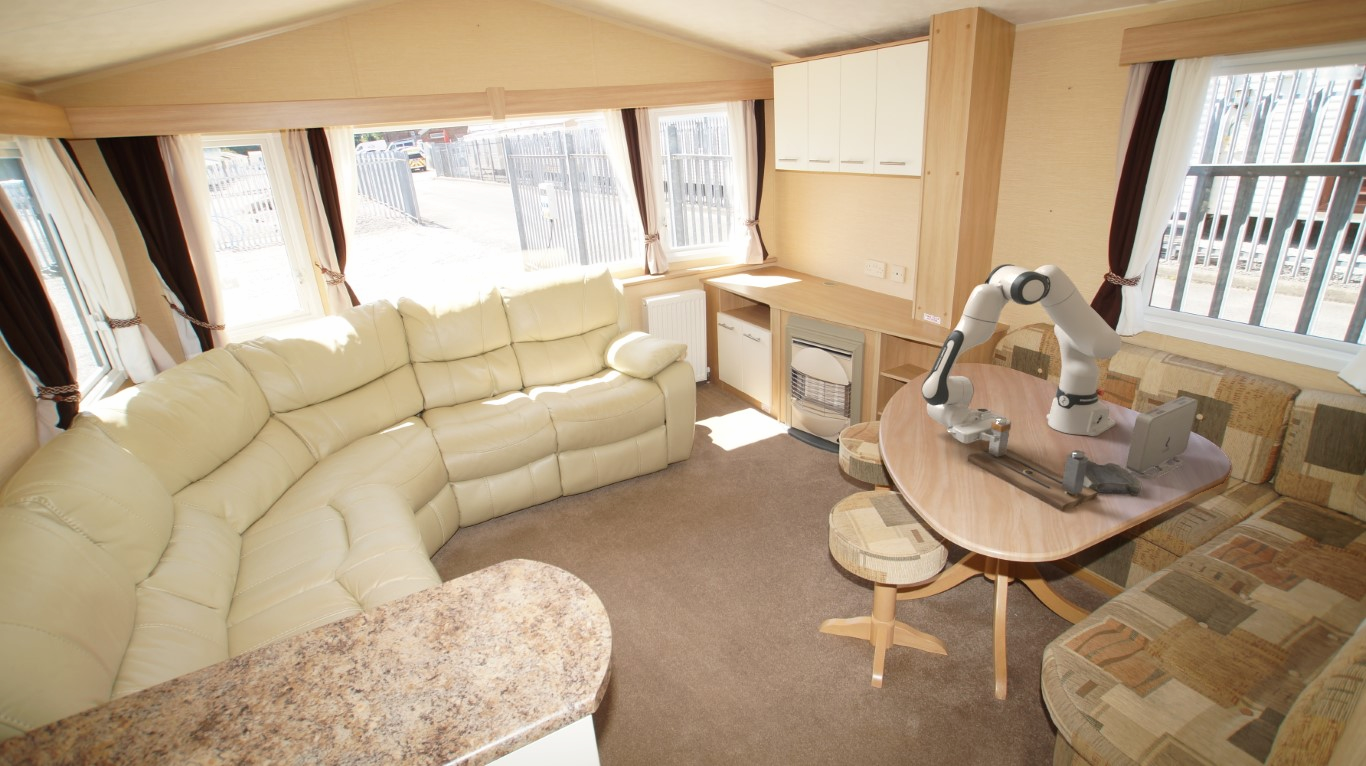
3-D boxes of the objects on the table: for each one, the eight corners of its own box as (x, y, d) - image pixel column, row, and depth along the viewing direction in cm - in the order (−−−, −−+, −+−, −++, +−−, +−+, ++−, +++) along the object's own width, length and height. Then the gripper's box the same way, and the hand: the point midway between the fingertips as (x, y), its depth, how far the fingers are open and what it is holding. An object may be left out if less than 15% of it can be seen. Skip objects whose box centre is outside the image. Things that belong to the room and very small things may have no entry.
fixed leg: (1069, 489, 184) (1076, 448, 179) (1081, 494, 180) (1088, 453, 176) (1060, 492, 182) (1067, 451, 178) (1072, 498, 179) (1079, 456, 174)
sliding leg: (996, 451, 206) (1001, 415, 201) (1006, 456, 203) (1011, 419, 198) (987, 454, 205) (992, 418, 200) (997, 459, 202) (1002, 422, 197)
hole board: (999, 450, 211) (1000, 443, 210) (1096, 498, 182) (1098, 490, 181) (967, 460, 207) (968, 453, 206) (1061, 511, 177) (1063, 503, 176)
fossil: (1143, 498, 181) (1145, 487, 180) (1081, 493, 185) (1083, 482, 184) (1124, 472, 195) (1126, 461, 193) (1067, 468, 199) (1068, 457, 198)
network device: (1145, 483, 188) (1159, 422, 180) (1114, 471, 195) (1126, 412, 188) (1192, 459, 198) (1207, 401, 191) (1162, 448, 205) (1175, 392, 198)
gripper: (944, 420, 208) (977, 436, 196) (991, 407, 215) (1026, 422, 203) (942, 437, 210) (975, 454, 198) (989, 424, 217) (1023, 439, 205)
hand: (1001, 438), depth 201 cm, fingers closed on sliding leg, 4 cm apart
